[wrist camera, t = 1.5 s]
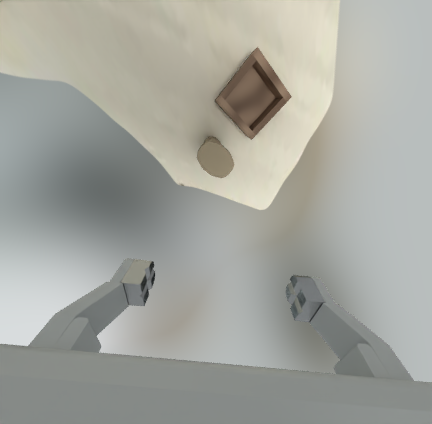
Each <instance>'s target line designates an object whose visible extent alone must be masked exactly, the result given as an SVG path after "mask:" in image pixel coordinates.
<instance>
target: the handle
mask: <svg viewBox="0 0 432 424" xmlns="http://www.w3.org/2000/svg"><path fill="white" fill-rule="evenodd" d="M197 159H198V161H199V163H200V165H201V167H202V168H203V169H204V170H205V171H206V172H207V173H209V174H210V175H212V176H215V177H219V178H223V177H226V176H227V175H228V174H229V173H230V172H231V171H232V169H233V167H234V162H233V159H232V156H231V154H230V153H229V151H228V150H227V149H226V148H225V147H224V146H223V145H221V143H220V141H219V140H218V139H217V138H215V137H208V138H207V139H206V140H205V142H204V144H203V145H202V146H201V147H200V149H199V150H198V154H197Z"/></svg>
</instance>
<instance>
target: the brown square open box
mask: <svg viewBox="0 0 432 424" xmlns="http://www.w3.org/2000/svg"><path fill="white" fill-rule="evenodd" d="M290 98H291V95H290V94H289V92H288V91H287V89H286V88H285V86H284V85H283V83H282V82H281V81H280V79H279V78H278V76H277V75H276V73H275V72H274V70H273V69H272V67H271V66H270V64H269V63H268V61H267V60H266V59H265V57H264V56H263V54H262V53H261V51H260V50H259V48H258V47H257V48H256V49H255V50H254V51H253V52H252V53H251V54H250V56H249V57H248V58H247V60H246V61H245V62H244V63H243V65H242V66H241V67H240V69H239V70H238V71H237V72H236V74H235V75H234V76H233V78H232V79H231V80H230V82H229V83H228V84H227V85H226V87H225V88H224V89H223V91H222V92H221V93H220V95H219V96H218V97H217V98H216V100H215V102H216V103H217V104H218V105H219V106H220V107H221V108H222V110H223V111H224V112H225V113H226V114H227V115H228V116H229V117H230V118H231V119H232V121H233V122H234V123H235V124H236V125H237V126H238V127H239V128H240V129H241V130H242V131H243V133H244V134H245V135H246V136H247V137H249V138H250V139H251V140H252V139H253V138H254V137H255V135H256V134H257V133H258V132H259V131H260V130H261V129H262V128H263V127H264V126H265V125H266V124H267V123H268V122H269V121H270V120H271V118H272V117H273V116H274V115H275V114H276V113H277V112H278V111H279V110H280V109H281V108H282V107H283V106H284V105H285V104H286V103H287V101H288V100H289V99H290Z"/></svg>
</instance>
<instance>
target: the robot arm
mask: <svg viewBox="0 0 432 424" xmlns="http://www.w3.org/2000/svg"><path fill="white" fill-rule="evenodd" d="M153 268H154V262H153V261H146V260H137V259H129V258H127V259H125V260H124V261H123V263H122V265H121V266H120V267H119V269H118V270H117V272H116V273H115V275H114V276H113V278H112V279H111V281H110V282H106V283H104V284H103V285H101V286H99V287H98V288H96V289H94V290H93V291H91V292H90V293H88V294H86V295H85V296H83V297H82V298H80V299H78V300H77V301H75V302H73V303H72V304H71V305H69V306H67V307H66V308H64V309H63V310H61V311H59V312H58V313H56V314H55V315H54V316H53V317H52V318H51V319H50V321H49V322H48V323H47V324H46V325H45V327H44V328H43V329H42V330H41V331H40V332H39V334H38V335H37V336H36V337H35V338H34V340H33V341H32V342H31V343H30V345H29V346H17V345H8V344H0V424H432V383H431V382H420V381H414V380H413V379H412V377H411V376H410V374H409V373H408V371H407V370H406V369H405V367H404V366H403V365H402V363H401V362H400V360H399V359H398V358H397V356H396V355H395V353H394V352H393V350H392V349H391V348H390V346H389V345H388V344H387V343H385V342H384V341H383V340H382V339H381V338H379V337H378V336H377V335H375V334H374V333H373V332H372V331H371V330H369V329H368V328H367V327H366V326H365V325H363V324H362V323H361V322H360V321H358V320H357V319H356V318H355V317H354V316H352V315H351V314H350V313H349V312H347V311H346V310H345V309H344V308H343V307H341V306H340V305H339V304H336V303H335V302H334V301H333V298H332V297H331V295H330V293H329V292H328V290H327V288H326V286H325V285H324V283H323V281H322V280H321V279H320V278H319V277H308V276H298V275H293V276H292V277H291V278H290V280H291V282H290V283H289V284H288V285H287V287H286V297H287V300H288V302H289V303H290V304H291V305H292V306H291V308H290V309H291V311H292V315H293V317H294V320H295V321H304V322H310V324H311V325H312V326H313V328H314V329H315V330H316V331H317V333H318V334H319V335H320V336H321V337H322V338H323V340H324V341H325V342H326V343H327V344H328V346H329V347H330V348H331V349H332V350H333V351H334V353H335V354H336V355H337V356H338V358H339V359H340V361H339V362H338V363H337V364H336V365H335V366H334V370H335V372H336V374H331V373H320V372H309V371H298V370H286V369H275V368H265V367H253V366H242V365H231V364H220V363H208V362H197V361H187V360H175V359H164V358H152V357H142V356H130V355H120V354H119V355H118V354H108V353H99V350H100V348H101V344H100V342H99V340H98V338H97V335H98V334H99V333H100V332H101V331H102V330H103V329H104V328H105V327H106V326H108V325H109V324H110V323H111V322H112V321H113V320H114V319H115V318H116V317H117V316H118V315H119V314H121V313H122V312H123V311H124V310H125V309H126V308H127V307H128V305H134V306H135V305H136V306H145V303H146V301H147V298H148V296H149V291H148V290H150V289H151V288H152V286H153V284H154V280H155V271H154V270H153Z"/></svg>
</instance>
